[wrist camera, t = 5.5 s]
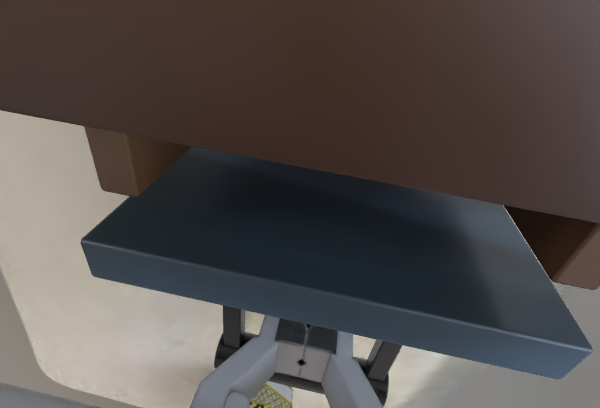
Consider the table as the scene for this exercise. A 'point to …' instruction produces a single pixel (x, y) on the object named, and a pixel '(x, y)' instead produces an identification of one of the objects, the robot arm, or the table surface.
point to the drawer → (342, 257)
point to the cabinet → (333, 86)
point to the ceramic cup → (272, 396)
